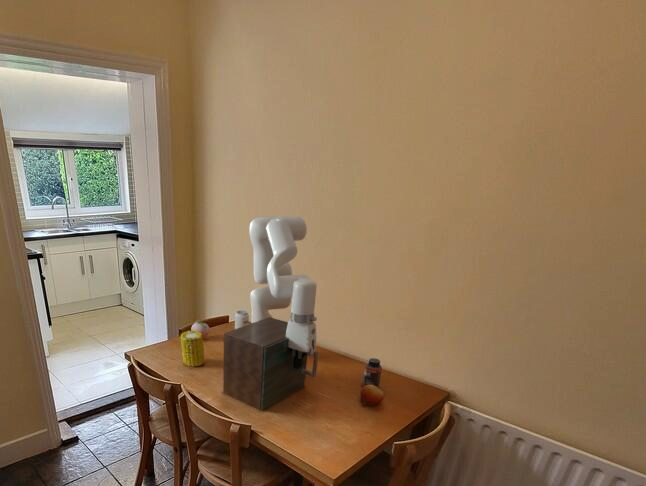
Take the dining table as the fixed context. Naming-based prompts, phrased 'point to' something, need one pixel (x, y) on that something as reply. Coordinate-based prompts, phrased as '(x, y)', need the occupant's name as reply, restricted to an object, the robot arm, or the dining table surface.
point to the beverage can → (241, 319)
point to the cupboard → (249, 358)
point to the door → (282, 373)
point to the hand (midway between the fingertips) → (297, 367)
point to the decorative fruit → (201, 328)
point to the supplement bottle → (372, 373)
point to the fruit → (371, 395)
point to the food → (192, 348)
